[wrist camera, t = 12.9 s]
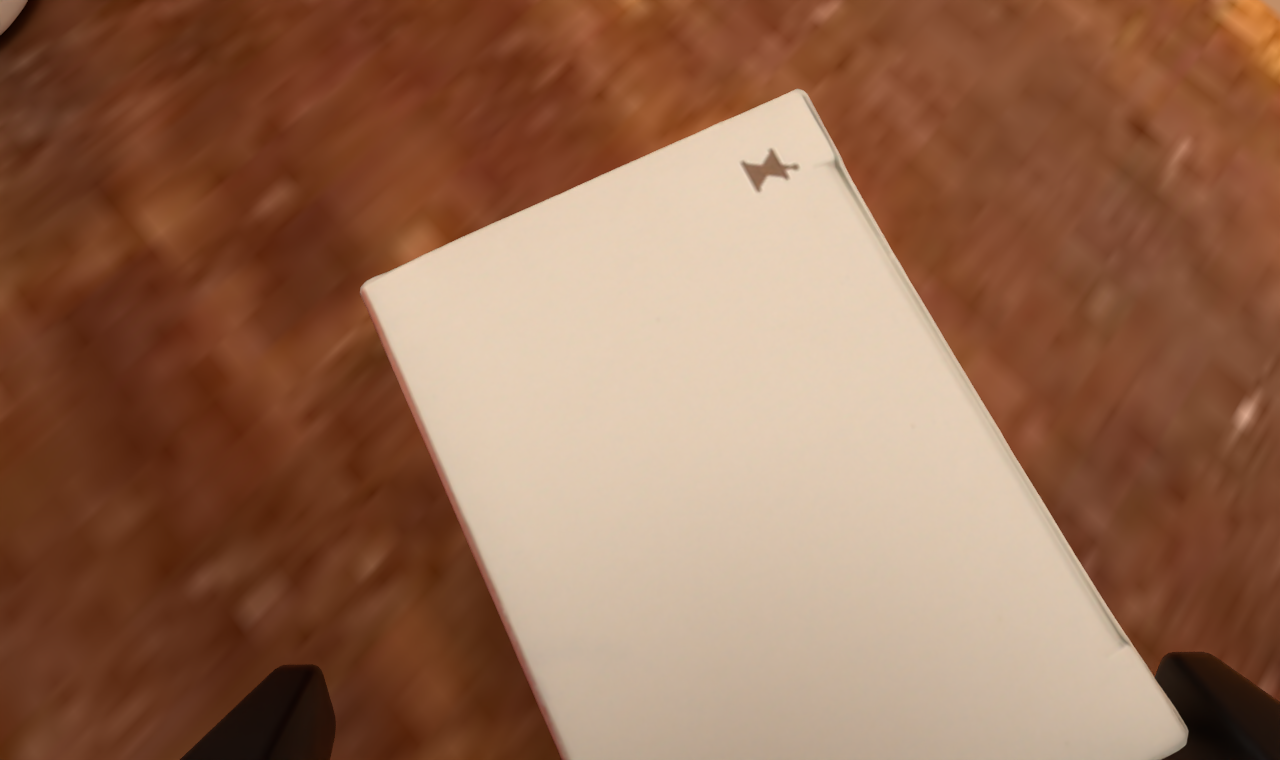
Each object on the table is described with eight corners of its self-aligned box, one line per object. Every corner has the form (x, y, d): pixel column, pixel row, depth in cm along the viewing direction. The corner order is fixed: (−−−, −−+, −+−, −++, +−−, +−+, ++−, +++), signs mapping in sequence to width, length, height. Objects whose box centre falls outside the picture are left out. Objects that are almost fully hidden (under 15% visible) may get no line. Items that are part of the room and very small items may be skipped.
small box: (502, 447, 20) (337, 264, 10) (729, 341, 20) (800, 60, 10) (661, 805, 18) (665, 1050, 8) (907, 677, 18) (1217, 749, 8)
